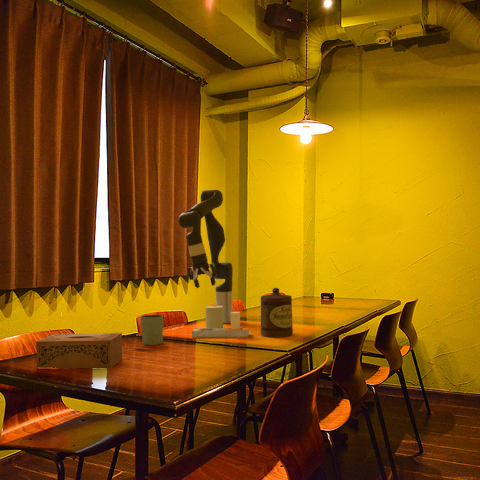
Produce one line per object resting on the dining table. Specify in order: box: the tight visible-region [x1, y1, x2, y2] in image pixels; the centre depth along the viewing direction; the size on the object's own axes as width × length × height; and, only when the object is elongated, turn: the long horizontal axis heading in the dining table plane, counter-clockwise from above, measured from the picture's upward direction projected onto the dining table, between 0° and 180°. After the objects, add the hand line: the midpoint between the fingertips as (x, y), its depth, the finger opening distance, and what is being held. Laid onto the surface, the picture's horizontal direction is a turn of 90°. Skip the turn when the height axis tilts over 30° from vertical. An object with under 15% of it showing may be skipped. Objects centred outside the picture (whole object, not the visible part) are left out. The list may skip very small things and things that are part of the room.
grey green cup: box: [139, 313, 164, 346], centre depth 210 cm, size 10×10×12 cm
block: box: [230, 311, 241, 330], centre depth 223 cm, size 4×4×11 cm
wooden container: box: [260, 287, 294, 339], centre depth 225 cm, size 15×15×22 cm
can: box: [204, 304, 224, 328], centre depth 243 cm, size 9×9×12 cm
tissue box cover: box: [35, 332, 123, 369], centre depth 172 cm, size 26×14×10 cm, turn 88°
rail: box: [191, 327, 250, 339], centre depth 224 cm, size 8×26×3 cm, turn 84°
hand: (205, 286), depth 228 cm, fingers open, 8 cm apart
